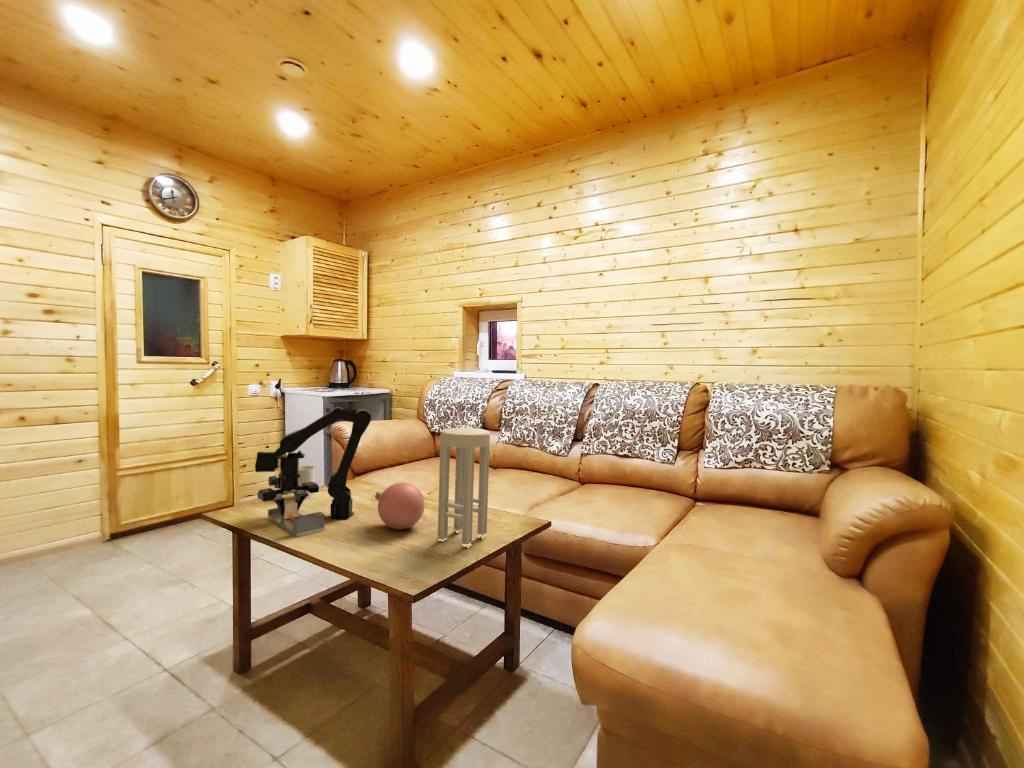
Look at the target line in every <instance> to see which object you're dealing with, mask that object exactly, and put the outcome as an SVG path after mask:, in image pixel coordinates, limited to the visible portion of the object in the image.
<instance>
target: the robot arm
mask: <svg viewBox="0 0 1024 768" xmlns="http://www.w3.org/2000/svg"><path fill="white" fill-rule="evenodd" d="M338 420H343V421H346V422H349V423H350V422H351V423H352V425H351V426H352V427H351V433H350V436H349V437H348V439H347V440H348V441H347V442H346V446H345V449H344V451H343V454H342V456H341V459H340V462H339V464H338V467H337V469H336V471H335V472H334V471H331V472H330V476H329V479H328V480H327V481H326V488H327V494H328V495H329V497H331V498H333V499H332V500H331V503H330V516H329V519H336V520H349V518H351V517H352V516H353V515H354V514H355V512H354V511H353V498H352V491H351V488H349V487H348V486H346V485H347V481H348V474H349V471H350V468H351V465H352V462H353V460H354V457H355V455H356V452H357V449H358V446H359V443H360V440H361V438H362V436H363V435H364V433H365V432H366V430H367V428H368V427H369V425H370V424H371V422H372V416H371V413H370V411H369V410H367V409H365V408H360V409H358V410H357V409H351V408H344V407H340V406H336V407H334V408H333V409H332V410H331V411H329V412H326V414H324V415H323V416H321V417H319V418H318V419H316V420H314V421H313V422H311V423H309V424H308V425H307V426H305V427H302V428H299V429H297V430H294V431H293V432H290V433H287V434H285V435H284V436H283V437H282V439H281V440H280V441H279V442H280V443H279V447H278V448H275V449H276V450H275V451H258V452H257V453H256V459H255V463H254V466H255V467H254V468H255V469H254V470H255V472H256V473H265V472H266V473H267V472H268V473H271V472H273V473H274V472H275V471H276V469H279V467H280V473H279V472H278V477H277V476H276V475H272V476H268V486H269V487H267V488H261V489H259V490H258V492H257V499H259V500H260V501H262V502H269V501H273V502H274V503H275V504H276V506H277V507H276V508H278V509H279V512H280V515H281V517H284V502H285V498H283V496H284V495H290V494H293V495H294V501H295V502H297V512H299V510H300V508H301V506H302V504H303V502H304V501H305V500H306V499H305V498H306V496H308V495H309V494H307V490H308V491H309V492H310V493H313V494H314V493H319V492H320V486H319V483H316V482H315V481H314V482H305V483H302V485H301V486H299V485H298V478H299V477H300V474H299V463H300V462H299V461H300V460H299V459H304V458H305V456H306V454H304V453H303V452H302V451H301V450H300V449H299V448H300V447H301V446H302V445H303V444H304V443H305V442H307V440H308V439H310V438H311V437H312V436H315V435H316V434H317V433H320V431H322V430H324V429H325V428H327V427H328V426H330V425H332V424H333V423H335V422H336V421H338ZM298 449H299V450H298ZM297 450H298V451H297ZM295 451H297V452H295ZM286 453H287V454H286ZM285 454H286V455H285ZM271 487H274V489H273V488H271Z"/></svg>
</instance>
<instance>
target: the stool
mask: <svg viewBox="0 0 1024 768" xmlns="http://www.w3.org/2000/svg"><path fill="white" fill-rule="evenodd" d="M439 436H440V437H439V472H438V473H439V476H438V511H437V513H438V514H437V540H438V539H442V540H443V539H445V538H447V539H448V536H449V535H448V533H449V532H448V530H449V529H448V528H449V526H448V525H449V518H450V519H453V530H454V529H455V530H461V529H462V532H461V544H462V543H463V544H469V543H471V542H472V543H473V515H474V513H477V528H476V530H477V534H482V535H483V534H485V533H487V534H488V532H487V531H488V529H487V528H488V506H489V505H488V504H489V502H488V501H489V477H490V476H489V471H490V444H491V443H490V440H491V439H490V438H491V437H490V436H491V432H490V430H486V429H483V428H476V427H475V428H474V427H450V428H443V429H442V430H441V432H440V435H439ZM451 448H455V475H454V477H455V479H454V481H455V482H454V503H452V502H449V495H450V467H451V466H450V463H451V462H450V459H451V456H450V455H451ZM476 448H479V463H478V464H479V465H478V466H479V467H478V468H479V471H478V496H477V497H478V498H476V497H474V482H475V481H474V480H475V455H476V454H475V451H476ZM474 503H475V504H478V505H477V507H475V506H474ZM449 508H450V509H454V510H453V511H454V512H453V513H452V512H449ZM473 512H474V513H473ZM477 534H476V535H477Z"/></svg>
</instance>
